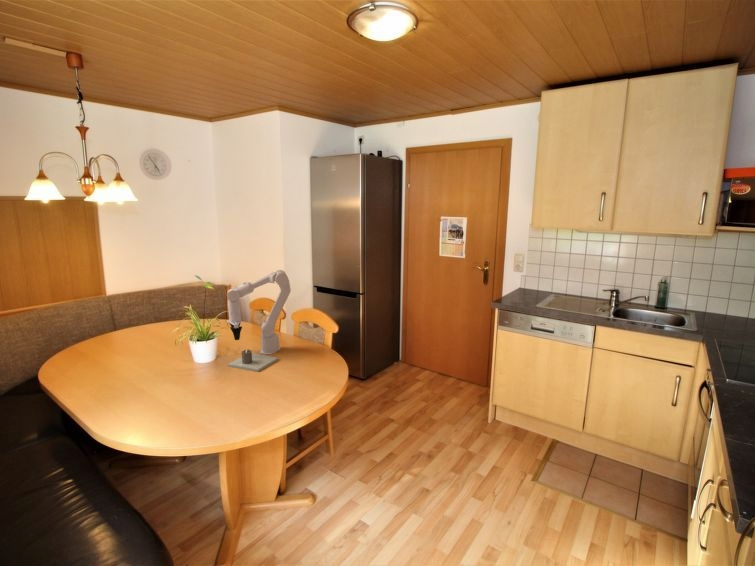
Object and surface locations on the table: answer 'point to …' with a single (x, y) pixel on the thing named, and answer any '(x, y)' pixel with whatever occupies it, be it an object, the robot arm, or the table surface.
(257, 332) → the table surface
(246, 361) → the knob
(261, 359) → the grey square plate
